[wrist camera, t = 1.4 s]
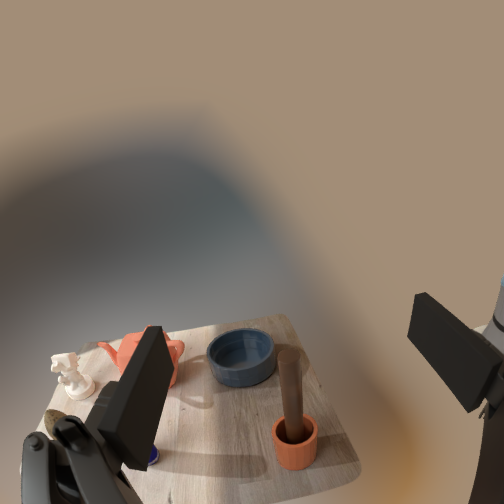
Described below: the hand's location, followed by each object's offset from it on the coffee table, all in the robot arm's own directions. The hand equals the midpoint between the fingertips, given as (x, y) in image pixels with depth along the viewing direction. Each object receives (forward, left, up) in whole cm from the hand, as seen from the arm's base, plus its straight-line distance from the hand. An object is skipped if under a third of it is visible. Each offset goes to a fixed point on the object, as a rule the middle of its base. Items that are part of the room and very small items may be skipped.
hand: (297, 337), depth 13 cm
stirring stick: (-1, -13, -36) cm, 38 cm away
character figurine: (+50, -35, -37) cm, 71 cm away
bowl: (+6, -40, -37) cm, 54 cm away
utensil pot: (-1, -13, -37) cm, 39 cm away
